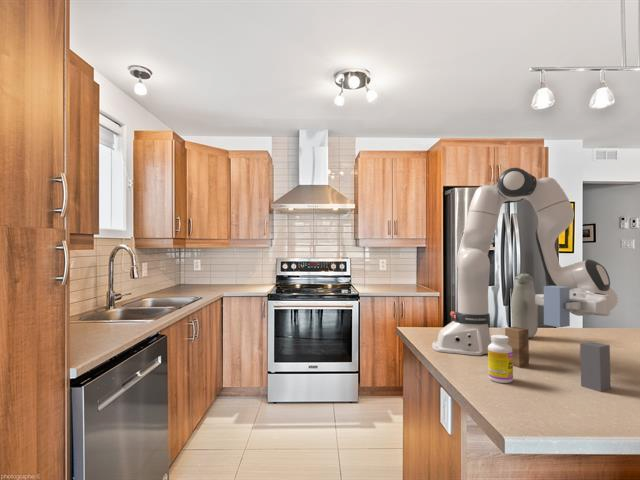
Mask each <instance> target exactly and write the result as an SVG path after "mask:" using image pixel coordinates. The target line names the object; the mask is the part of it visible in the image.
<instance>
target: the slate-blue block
mask: <svg viewBox="0 0 640 480" xmlns="http://www.w3.org/2000/svg"><path fill="white" fill-rule="evenodd" d="M543 294H544V306H543V326H544V325H545V326H549V327H555V328H564V327H566V328H567V327H570V323H571V322H570V321H571V317H570V316H571V315H570V314H571V312H570V309H565V308H563V306H564V305H563V303H565V302H568V303H570V287H562V286H547V285H545V286H543Z"/></svg>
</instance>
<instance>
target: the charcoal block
mask: <svg viewBox="0 0 640 480" xmlns="http://www.w3.org/2000/svg"><path fill="white" fill-rule="evenodd" d="M579 348H580V349H579V353H580V355H579V357H580V359H579V360H580V386H581V387H583V388H586V389H590V390H593V391H596V392H598V393H602V392H605V391H608V390H611V389H612V387H611V386H612V385H611V383H612V382H611V380H612V379H611V350H610V348H611V347H610V344H605V343H600V342H595V341H584V342H581V343H580V344H579Z"/></svg>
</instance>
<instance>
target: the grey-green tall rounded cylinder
mask: <svg viewBox="0 0 640 480" xmlns="http://www.w3.org/2000/svg"><path fill="white" fill-rule="evenodd" d="M513 282H514V283H513V289H512V293H511V299H510V311H511V312H510V315H511V317H510V318H511V327H519V328H524V329H528V336H529V339H530V338H533V337H534V336H536V334H537V332H538V329H539V327H538V326H539V321H538V320H539V319H538V318H539V316H538V315H539V314H538V313H539V311H538V310H539V309H538V308H539V305H536V303H535V295H536V294H537V293H536V289H535V283H534V278H533V277H532V276H531V274H529V273H518V274H516V276H515V277H514V280H513Z"/></svg>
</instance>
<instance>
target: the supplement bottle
mask: <svg viewBox="0 0 640 480" xmlns="http://www.w3.org/2000/svg"><path fill="white" fill-rule="evenodd" d="M490 338H491V344H489V346H488V353H487V368H488V369H487V372H488V373H487V376H488V379H489V380H490V381H492V382H495V383H499V384H509V383H512V382H513V379H514V366H513V352H512V348H511V346H509V345H508V341H509V337H507V336H505V334H492V335H490Z"/></svg>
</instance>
